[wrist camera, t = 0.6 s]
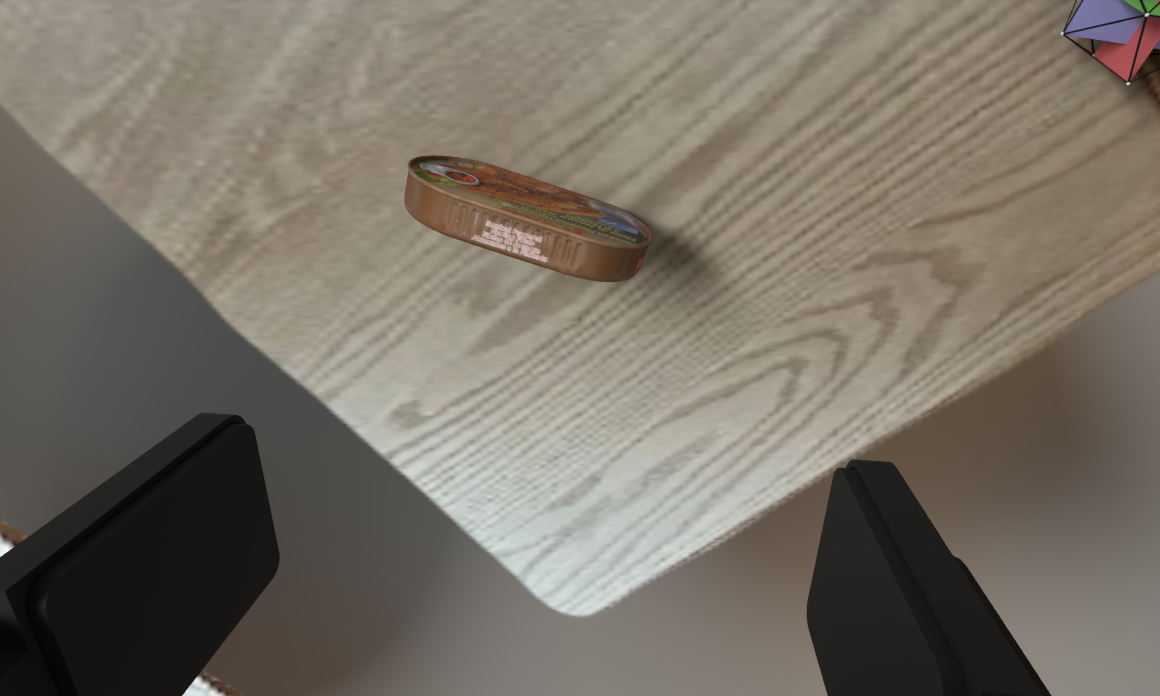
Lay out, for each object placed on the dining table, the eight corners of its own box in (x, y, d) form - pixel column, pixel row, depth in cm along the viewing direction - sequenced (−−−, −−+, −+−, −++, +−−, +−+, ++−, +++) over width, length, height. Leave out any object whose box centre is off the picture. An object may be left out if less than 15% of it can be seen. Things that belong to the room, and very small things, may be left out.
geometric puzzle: (1157, 121, 35) (1325, 9, 27) (1030, 101, 35) (1161, -16, 27) (1151, 13, 36) (1308, -122, 29) (1031, -5, 37) (1153, -144, 29)
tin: (654, 218, 42) (654, 248, 34) (638, 262, 43) (635, 301, 35) (436, 146, 41) (386, 159, 34) (427, 192, 43) (376, 216, 35)
